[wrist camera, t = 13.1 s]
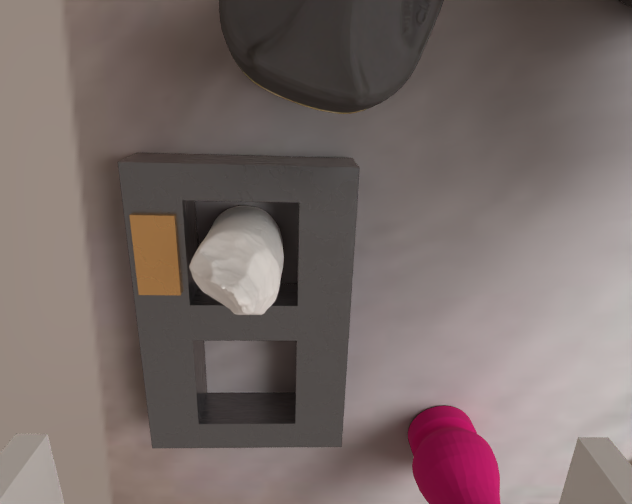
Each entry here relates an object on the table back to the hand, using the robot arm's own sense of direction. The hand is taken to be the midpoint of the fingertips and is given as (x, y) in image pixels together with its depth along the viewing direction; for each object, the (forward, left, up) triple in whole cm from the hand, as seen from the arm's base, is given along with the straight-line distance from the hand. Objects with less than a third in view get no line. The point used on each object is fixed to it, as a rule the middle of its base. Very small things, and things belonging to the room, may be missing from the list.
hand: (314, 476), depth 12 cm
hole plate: (+4, +8, -26) cm, 27 cm away
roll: (+4, +3, -26) cm, 27 cm away
